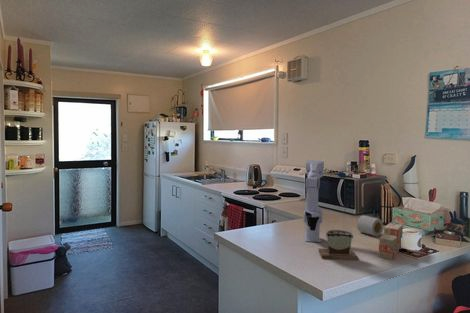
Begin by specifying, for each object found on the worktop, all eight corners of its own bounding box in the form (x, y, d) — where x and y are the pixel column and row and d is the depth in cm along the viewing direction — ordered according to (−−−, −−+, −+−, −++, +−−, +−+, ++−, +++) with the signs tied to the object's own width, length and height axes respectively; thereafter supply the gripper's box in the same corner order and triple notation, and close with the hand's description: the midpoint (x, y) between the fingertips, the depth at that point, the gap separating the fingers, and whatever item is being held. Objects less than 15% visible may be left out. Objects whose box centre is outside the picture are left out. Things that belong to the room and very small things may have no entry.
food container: (349, 250, 161) (349, 230, 160) (352, 255, 155) (353, 233, 154) (323, 249, 162) (323, 229, 161) (325, 254, 156) (326, 232, 155)
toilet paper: (356, 233, 196) (357, 216, 195) (367, 230, 201) (368, 214, 201) (371, 237, 188) (372, 220, 187) (382, 235, 193) (383, 217, 192)
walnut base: (318, 251, 164) (318, 248, 164) (351, 252, 163) (351, 249, 162) (322, 258, 154) (322, 255, 154) (357, 260, 153) (357, 256, 152)
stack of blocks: (392, 260, 153) (393, 233, 152) (378, 257, 157) (379, 231, 156) (401, 248, 170) (402, 224, 170) (388, 245, 174) (389, 222, 173)
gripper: (323, 204, 158) (322, 232, 159) (317, 198, 173) (317, 224, 174) (307, 203, 159) (307, 232, 160) (304, 198, 173) (303, 224, 174)
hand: (311, 228), depth 167 cm, fingers open, 7 cm apart
